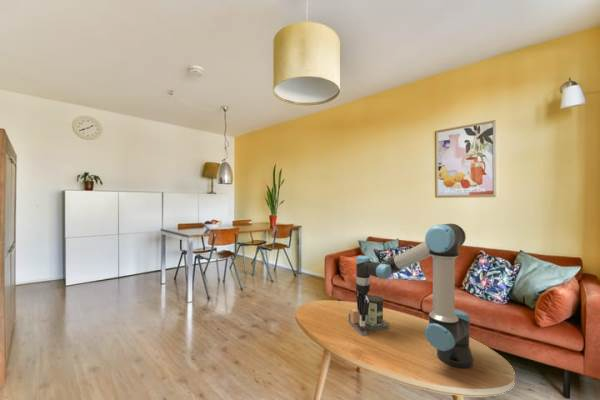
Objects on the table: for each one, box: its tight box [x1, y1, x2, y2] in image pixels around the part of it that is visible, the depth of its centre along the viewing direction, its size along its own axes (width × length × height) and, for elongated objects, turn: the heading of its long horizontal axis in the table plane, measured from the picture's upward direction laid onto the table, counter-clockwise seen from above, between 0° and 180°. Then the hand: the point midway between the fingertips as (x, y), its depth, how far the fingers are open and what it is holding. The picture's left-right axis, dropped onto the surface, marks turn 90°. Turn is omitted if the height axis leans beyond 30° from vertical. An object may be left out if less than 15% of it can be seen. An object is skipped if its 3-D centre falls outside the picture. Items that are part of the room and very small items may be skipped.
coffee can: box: [365, 295, 384, 326], centre depth 166 cm, size 10×10×14 cm
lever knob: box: [349, 307, 360, 324], centre depth 165 cm, size 4×4×7 cm
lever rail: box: [348, 313, 368, 337], centre depth 162 cm, size 18×3×5 cm, turn 15°
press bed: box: [356, 295, 389, 332], centre depth 168 cm, size 16×12×14 cm
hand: (362, 325), depth 157 cm, fingers closed
